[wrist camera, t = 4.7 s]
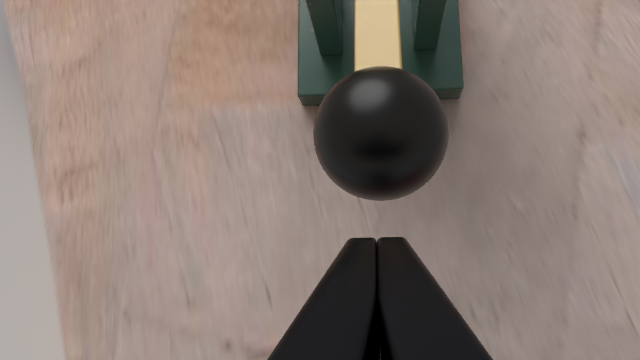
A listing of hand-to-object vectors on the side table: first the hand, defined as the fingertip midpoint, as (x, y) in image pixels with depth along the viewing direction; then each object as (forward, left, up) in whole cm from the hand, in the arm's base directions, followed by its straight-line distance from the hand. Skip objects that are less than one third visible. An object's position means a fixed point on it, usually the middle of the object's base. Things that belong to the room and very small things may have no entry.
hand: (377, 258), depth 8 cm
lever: (+7, +1, -6) cm, 9 cm away
